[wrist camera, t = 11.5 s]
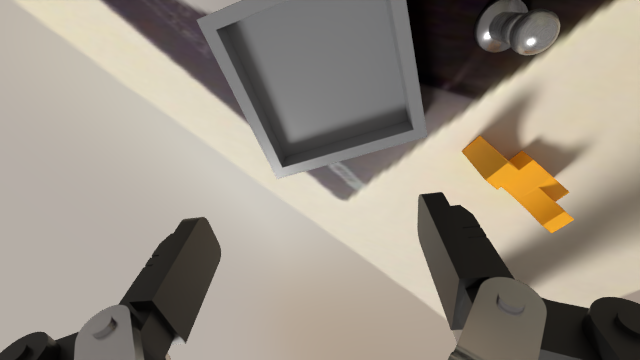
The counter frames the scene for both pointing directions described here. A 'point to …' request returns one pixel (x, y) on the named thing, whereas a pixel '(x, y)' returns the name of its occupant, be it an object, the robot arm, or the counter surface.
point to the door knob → (515, 28)
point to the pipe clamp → (521, 182)
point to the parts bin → (320, 77)
